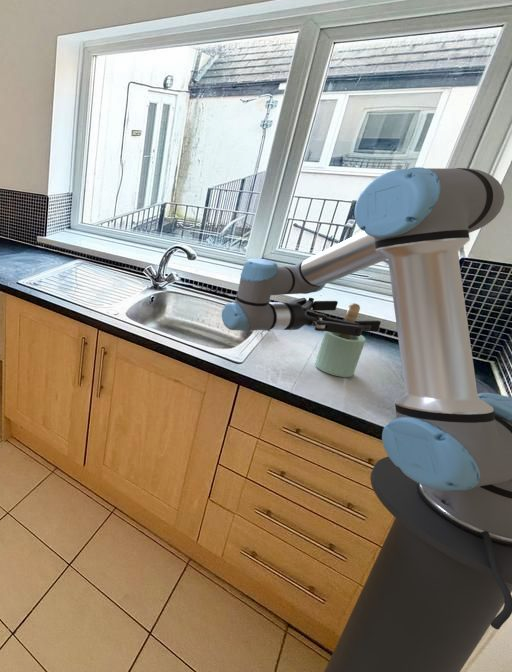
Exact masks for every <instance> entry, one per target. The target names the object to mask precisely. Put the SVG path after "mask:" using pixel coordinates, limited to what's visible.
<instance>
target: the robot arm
mask: <svg viewBox="0 0 512 672" xmlns="http://www.w3.org/2000/svg"><path fill="white" fill-rule="evenodd" d="M504 203H505V191H504V189H503V185H502V184H501V183H500V182H499V180H498V179H496V178H495V177H494V176H493V175H491V174H490V173H487V172H485V171H482V170H479V169H476V168H468V167H457V168H456V167H455V168H435V167H434V168H433V167H432V168H430V167H429V168H427V167H417V166H415V167H410V168H405V169H404V168H403V169H394V170H390V171H387V172H385V173H383V174H380V175H379V176H377V177H376V178H374V179H373V180H371V181H370V182H369V183H368V184H367V185H366V187H365V188H364V190H363V191H361V193H360V194H359V196H358V197H357V199H356V203H355V206H354V220H355V223H356V225H357V227H358V228H359V229H360V230H361V231H360V232H359V233H357V234H355V235H353V236H351V237H348V238H346V239H345V240H343V241H341V242H339V243H336V244H334V245H332V246H331V247H329V248H327V249H324V250H323V251H321V252H318V253H316V254H315V255H312V256H310V257H308V258H306V259H304V260H302V261H300V262H298V263H296V264H294V265H283V266H278V263H276V262H275V261H272V260H270V259H265V258H256V257H255V258H249V259H247V260H246V261H244V264H243V267H242V270H241V273H240V278H239V283H238V289H237V293H236V297H235V300H234V302H229V303H226V304H224V307H223V308H222V310H221V320H222V323H223V325H224V326H225V327H226V329H228V330H230V331H243V332H247V331H251V330H252V331H253V330H255V331H256V330H259V331H261V330H267V331H269V332H271V331H272V330H273V331H296V330H300V329H301V328H303V327H304V326H309V327H311V326H312V327H314V331H316V332H325V331H328V332H334V333H341V334H347V335H353V336H360V335H362V333H363V332H379V329H380V325H381V322H382V321H380V320H356V321H355V322H350V321H345V319H339V318H336V317H330V316H327V314H326V313H325V314H324V313H320V312H319V311H323V312H324V311H336V309H337V306H338V304H339V301H338V300H315V298H313V297H308V299H307V298H306V297H300V298H298V299H295V300H292V301H284V302H280V301H279V302H278V301H277V302H273V301H271V296H280V295H281V296H282V295H283V296H284V295H300V294H302V295H307V294H312V293H317V292H320V291H322V290H323V289H324V288H325V286H326V284H329V283H332V282H334V281H336V280H339V279H342V278H344V277H346V276H349V275H352V274H354V273H356V272H359V271H362V270H364V269H366V268H369V267H371V266H374V265H376V264H379V263H381V262H384V261H388V269H389V270H388V271H389V276H390V277H389V278H390V285H391V293H392V302H393V308H394V315H395V324H396V330H397V337H398V338H397V339H398V347H399V356H400V363H401V371H402V378H403V379H402V380H403V385H404V392H403V393H402V394H401V395H400V396H398V397H397V398H396V399H394V407H395V416H396V418H393V419H391V420H390V421H389V422H388V424H386V425H384V427H383V429H382V433H381V440H382V445H383V448H384V450H385V453H386V455H387V457H388V456H389V458H390V459H391V461H392V462H393V463H394V464H395V465H396V466H397V467H399V468H400V469H401V470H402V472H403V473H404V474H405V475H406V476H408V477H409V478H411V479H412V480H414V481H416V482H417V483H418V484H417V492H418V494H419V496H420V497H421V499H422V500H423V501H424V502H425V504H426V505H427V506H428V507H430V508H431V509H432V510H433V511H434V512H435V513H437V514H438V515H439V516H441V517H442V518H443V519H445V520H446V521H448V522H449V523H451V524H453V525H454V526H456V527H458V528H460V529H462V530H464V531H465V532H468V533H470V534H472V535H474V536H476V537H479V538H481V539H484V542H485V546H486V550H487V554H488V558H489V563H490V566H491V570H492V572H493V575H494V577H495V579H496V581H497V583H498V585H499V586H500V588H501V590H502V593H503V595H504V601H505V602H504V604H503V607H502V609H501V610H500V611H499V612H498V614H497V615H496V617H495V618H494V620H493V621H492V622H491V625H490V627H492V628H493V629H494V630H500V628H501V627H503V625H504V624H505V623H506V622H507V621H508V619H509V618H510V617H511V616H512V592H511V593H510V591H509V589H508V587H507V586H506V584H505V582H504V580H503V578H502V576H501V574H500V571H499V568H498V564H497V560H496V556H495V552H494V549H493V545H492V543H496V544H499V545H503V546H509V547H512V397H510V396H507V395H503V394H498V393H491V392H480V393H478V388H477V381H476V373H475V366H474V360H473V352H472V351H473V350H472V345H471V339H470V331H469V323H468V315H467V309H466V308H467V307H466V302H465V294H464V287H463V281H462V273H461V265H460V259H459V251H460V250H461V249H462V248H463V247H464V246H465V245H466V244H468V243H469V242H470V241H471V238H470V233H472V232H475V231H477V230H480V229H482V228H483V227H486V225H488V224H490V223H492V222H493V220H495V218H496V217H497V216H498V215H499V214H500V212H501V210H502V208H503V206H504ZM269 300H270V301H269ZM316 311H318V312H316ZM267 331H266V332H267Z"/></svg>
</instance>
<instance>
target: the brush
mask: <svg viewBox="0 0 512 672" xmlns="http://www.w3.org/2000/svg"><path fill="white" fill-rule="evenodd" d="M360 310H361V306H360V305H359V303H354V302H353V303H350V304H349V305H348V308H347V311H346V313H345V316H344V320H345V321H350V322H355V321H357V319H358V316H359V313H360ZM350 336H351V335H347V334H341V333H340V335H339V337H341V338H345V339H350Z"/></svg>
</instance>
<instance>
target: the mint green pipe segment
mask: <svg viewBox="0 0 512 672" xmlns="http://www.w3.org/2000/svg"><path fill="white" fill-rule="evenodd" d="M339 335H340V333H334V332H328V331H324V334H323V337H322V340H321V343H320V346H319V349H318V353H317V356H316V358H315V362H314V365H315V367H316V368H318V369H319V370H321V371H322V372H324V373H326V374H329V375H332V376H336V377H341V378H350V377H352V376H354V374H355V371H356V368H357V366H358V363H359V360H360V357H361V355H362V352H363V349H364V346H365V344H366V337H365V336H364V335H362V334H361V335H360V336H353V335H351V336H350V339H345V338H341V337H339Z"/></svg>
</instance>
